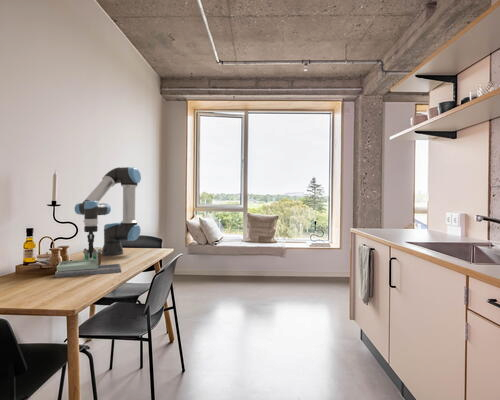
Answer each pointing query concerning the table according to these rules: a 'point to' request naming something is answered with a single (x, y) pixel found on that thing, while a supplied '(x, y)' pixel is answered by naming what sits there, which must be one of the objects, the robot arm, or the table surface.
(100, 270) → the grey board
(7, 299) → the table surface
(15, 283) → the table surface
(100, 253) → the food container
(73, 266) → the pale green tray
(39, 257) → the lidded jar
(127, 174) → the robot arm
